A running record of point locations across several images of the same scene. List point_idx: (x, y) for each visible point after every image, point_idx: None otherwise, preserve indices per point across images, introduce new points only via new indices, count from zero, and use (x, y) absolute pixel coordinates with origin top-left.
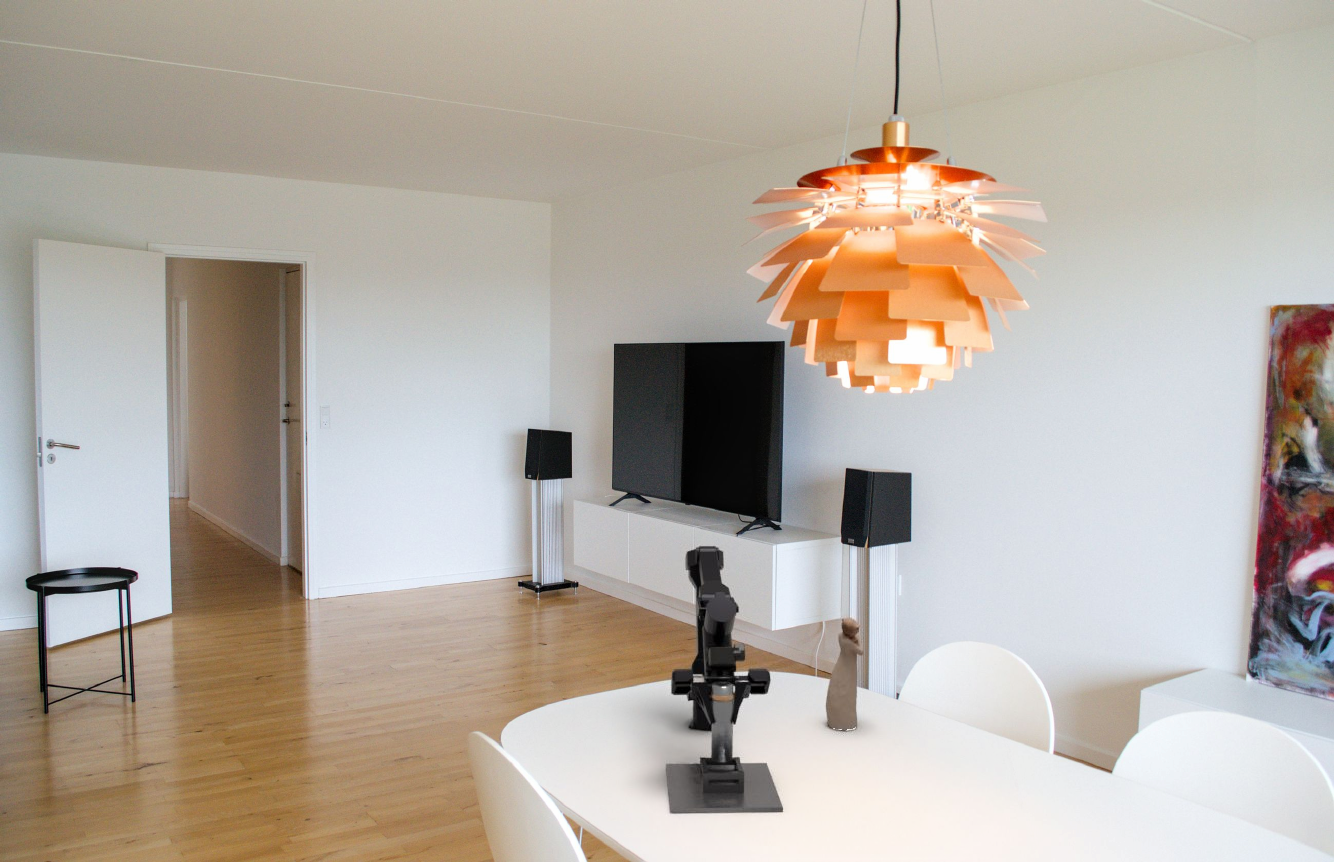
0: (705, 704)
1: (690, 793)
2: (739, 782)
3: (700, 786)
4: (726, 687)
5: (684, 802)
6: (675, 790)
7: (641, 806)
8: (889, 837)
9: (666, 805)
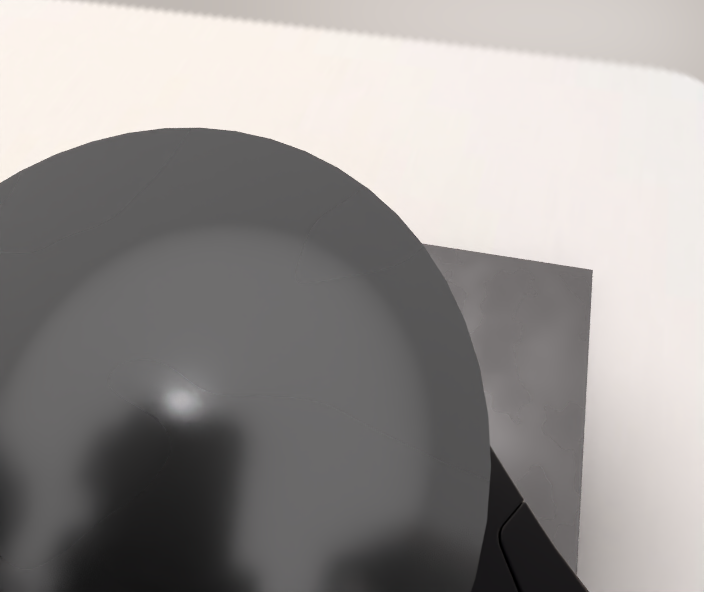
0: (515, 502)
1: (499, 377)
2: None
3: None
4: (131, 177)
5: (535, 307)
6: (556, 417)
7: (693, 347)
8: (37, 52)
9: (595, 336)
